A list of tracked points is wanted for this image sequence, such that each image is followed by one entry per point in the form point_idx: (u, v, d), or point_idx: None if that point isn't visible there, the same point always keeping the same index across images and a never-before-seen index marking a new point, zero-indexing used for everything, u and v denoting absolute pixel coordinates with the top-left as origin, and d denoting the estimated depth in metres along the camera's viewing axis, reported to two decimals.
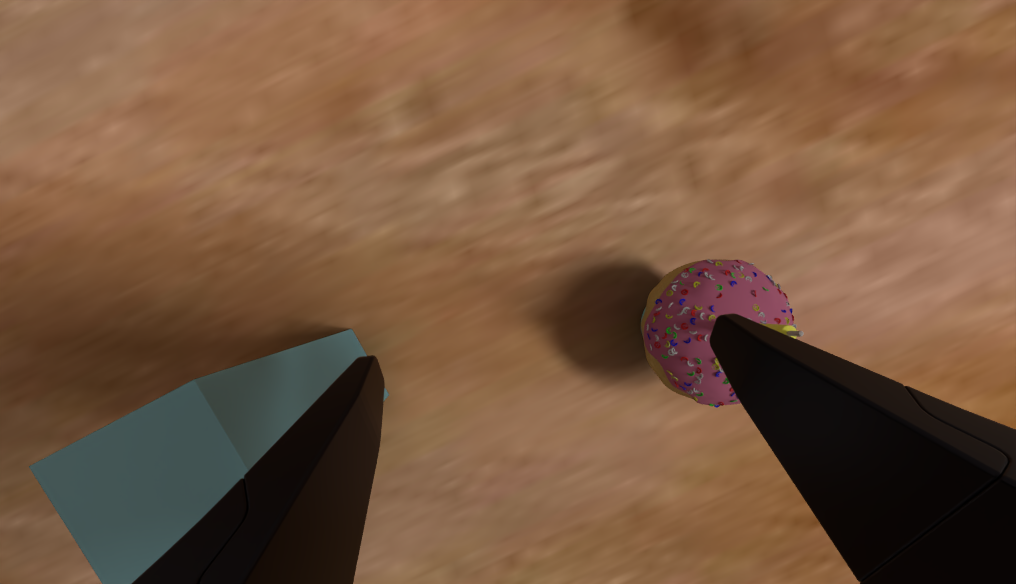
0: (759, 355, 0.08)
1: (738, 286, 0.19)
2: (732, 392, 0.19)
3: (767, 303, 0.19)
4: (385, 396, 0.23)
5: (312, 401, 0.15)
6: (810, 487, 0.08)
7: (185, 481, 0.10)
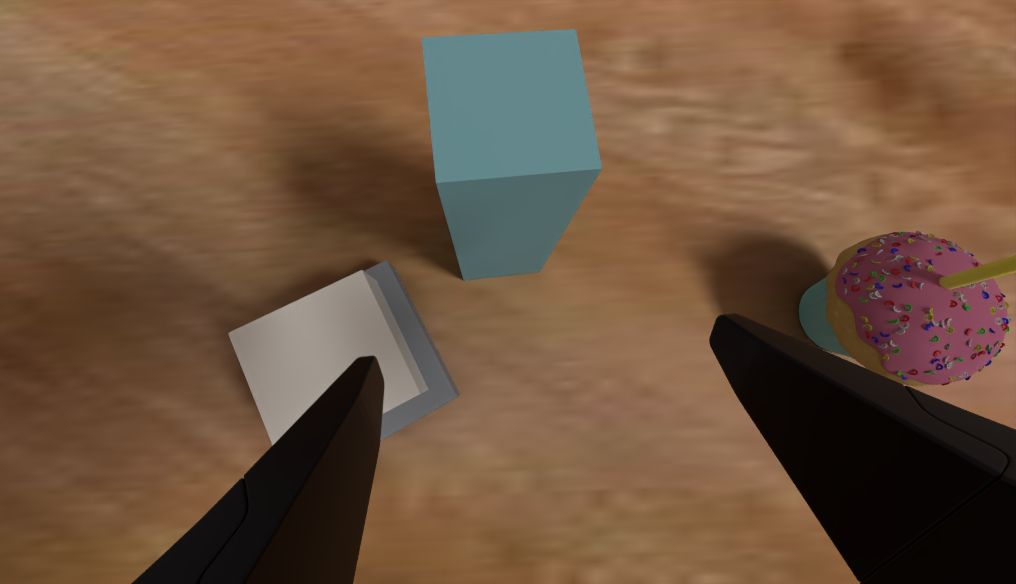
0: (759, 355, 0.08)
1: (958, 253, 0.18)
2: (935, 358, 0.18)
3: (988, 279, 0.18)
4: None
5: None
6: (810, 487, 0.08)
7: (536, 99, 0.11)
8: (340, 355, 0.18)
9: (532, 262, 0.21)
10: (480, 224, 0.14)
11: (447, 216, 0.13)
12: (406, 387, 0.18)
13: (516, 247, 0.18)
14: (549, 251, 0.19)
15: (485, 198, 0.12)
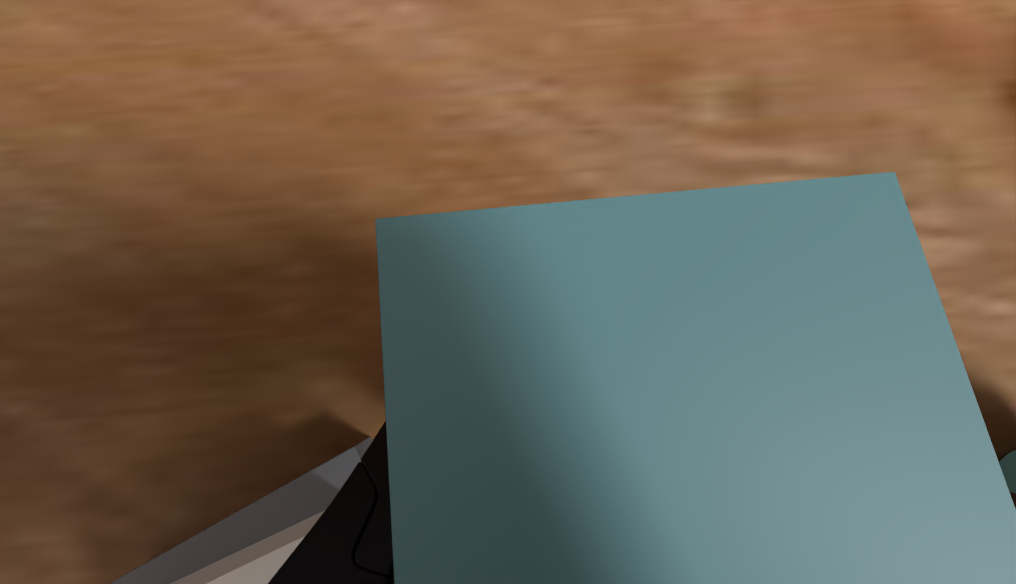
0: None
1: None
2: None
3: None
4: None
5: None
6: None
7: (810, 469, 0.03)
8: None
9: None
10: None
11: None
12: None
13: None
14: None
15: None
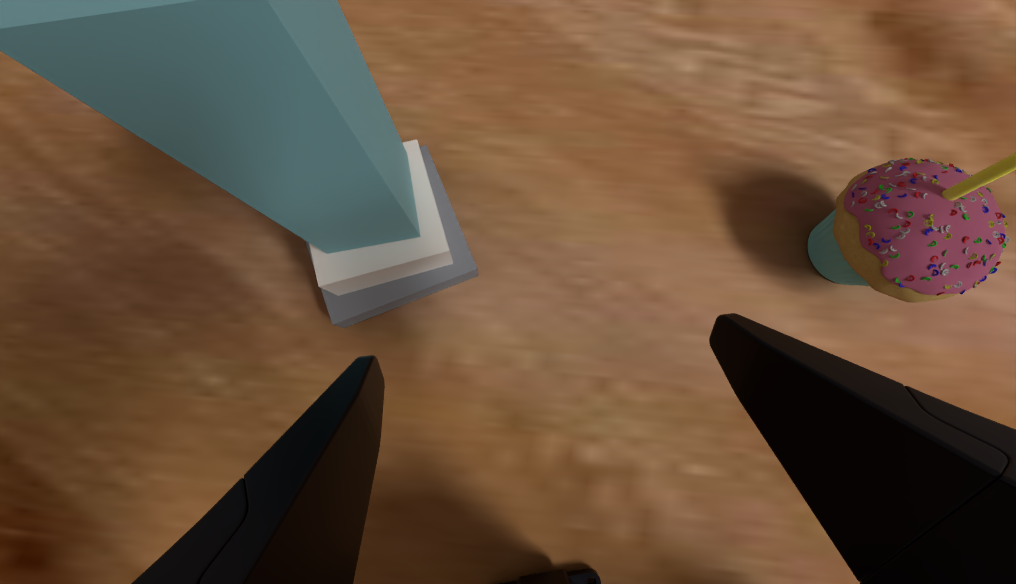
0: (759, 355, 0.08)
1: (963, 174, 0.20)
2: (932, 263, 0.19)
3: (990, 198, 0.19)
4: (417, 230, 0.19)
5: (352, 78, 0.12)
6: (810, 487, 0.08)
7: None
8: None
9: (390, 219, 0.17)
10: (210, 144, 0.10)
11: (122, 124, 0.09)
12: (437, 243, 0.20)
13: (330, 192, 0.13)
14: (392, 198, 0.15)
15: (132, 77, 0.08)
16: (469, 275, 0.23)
